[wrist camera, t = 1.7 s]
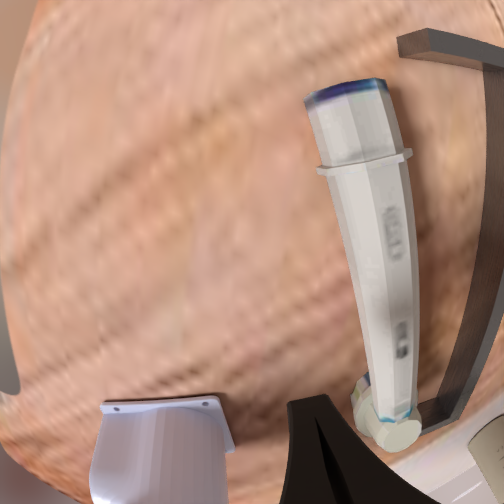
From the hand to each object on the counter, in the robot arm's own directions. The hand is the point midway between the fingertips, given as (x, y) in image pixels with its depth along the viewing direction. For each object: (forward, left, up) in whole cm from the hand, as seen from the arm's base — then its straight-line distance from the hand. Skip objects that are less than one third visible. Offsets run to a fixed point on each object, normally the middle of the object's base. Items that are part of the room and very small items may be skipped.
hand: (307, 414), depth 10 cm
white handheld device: (+6, -2, -10) cm, 12 cm away
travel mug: (+31, -34, -9) cm, 47 cm away
